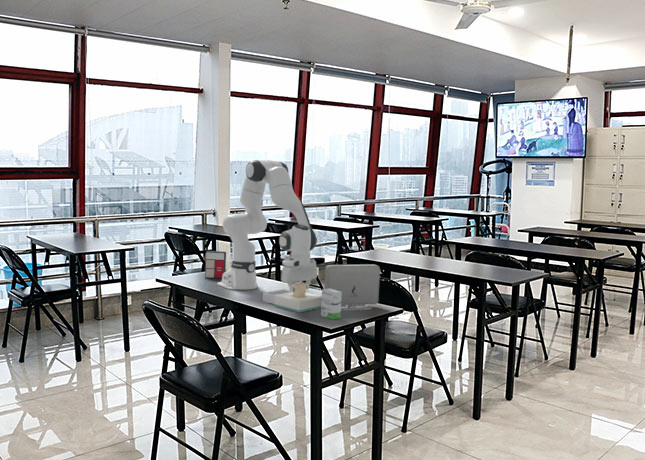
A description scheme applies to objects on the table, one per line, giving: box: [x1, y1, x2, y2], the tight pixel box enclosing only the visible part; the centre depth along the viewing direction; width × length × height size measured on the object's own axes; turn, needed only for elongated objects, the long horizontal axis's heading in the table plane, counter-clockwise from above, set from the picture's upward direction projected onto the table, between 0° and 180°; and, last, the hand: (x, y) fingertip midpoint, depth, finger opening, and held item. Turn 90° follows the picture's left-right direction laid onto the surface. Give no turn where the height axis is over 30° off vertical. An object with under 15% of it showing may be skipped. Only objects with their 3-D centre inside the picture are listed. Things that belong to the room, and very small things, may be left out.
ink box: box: [320, 288, 342, 320], centre depth 256 cm, size 9×5×12 cm, turn 37°
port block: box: [273, 292, 322, 313], centre depth 273 cm, size 16×16×5 cm
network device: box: [323, 263, 381, 312], centre depth 274 cm, size 26×9×20 cm, turn 108°
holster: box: [262, 288, 291, 305], centre depth 284 cm, size 8×14×4 cm, turn 138°
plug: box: [293, 281, 307, 298], centre depth 273 cm, size 4×4×10 cm
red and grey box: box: [204, 250, 227, 280], centre depth 335 cm, size 11×4×15 cm, turn 88°
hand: (299, 290), depth 272 cm, fingers open, 8 cm apart
